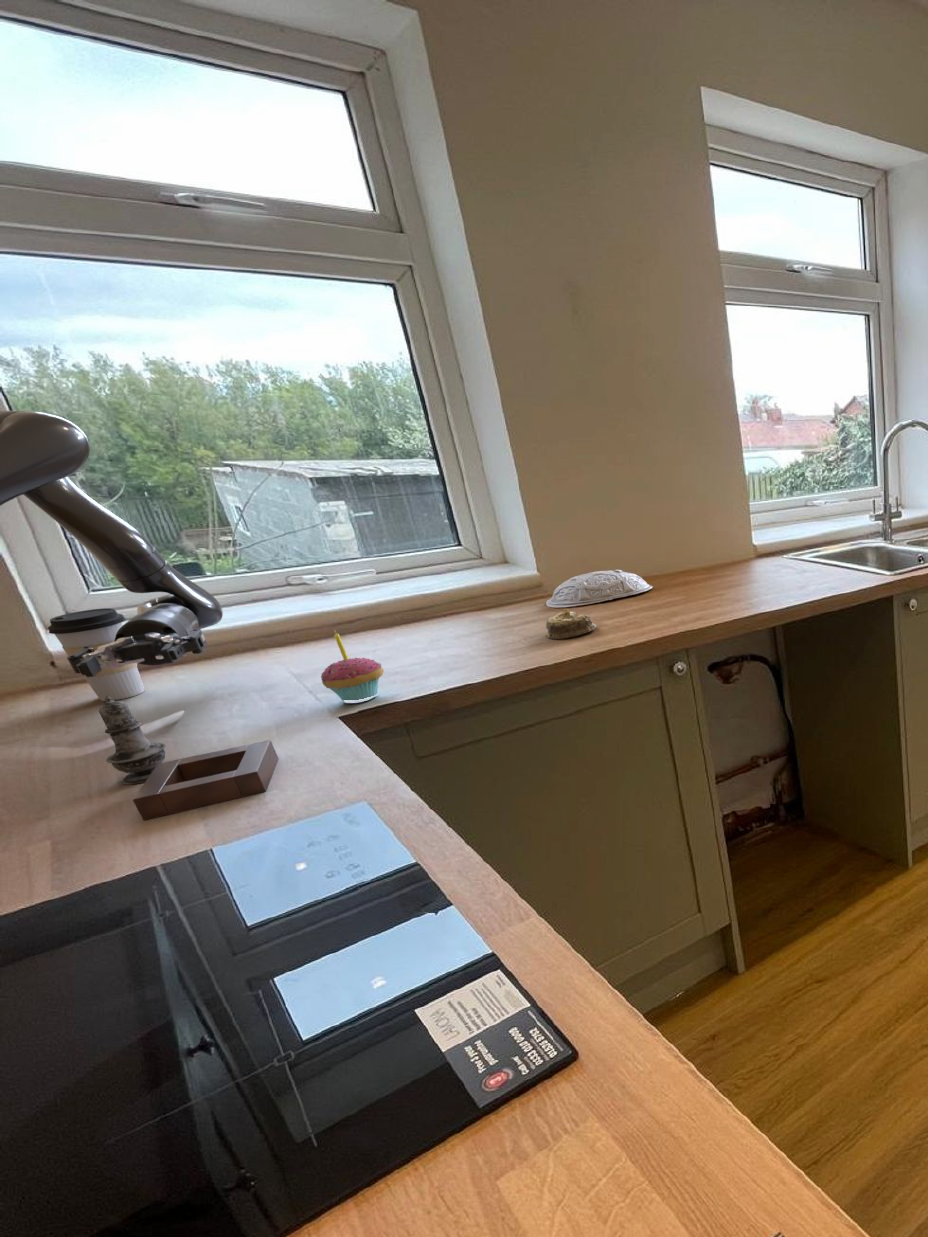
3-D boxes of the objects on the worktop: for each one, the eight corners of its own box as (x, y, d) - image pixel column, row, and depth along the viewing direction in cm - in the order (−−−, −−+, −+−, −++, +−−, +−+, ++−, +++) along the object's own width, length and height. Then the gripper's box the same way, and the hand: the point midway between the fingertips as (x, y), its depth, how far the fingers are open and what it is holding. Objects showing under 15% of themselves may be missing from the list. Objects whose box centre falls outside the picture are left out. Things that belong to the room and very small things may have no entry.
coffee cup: (71, 704, 134) (27, 622, 128) (131, 684, 143) (92, 606, 137) (114, 706, 133) (71, 622, 127) (173, 685, 141) (135, 606, 135)
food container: (540, 596, 189) (535, 569, 186) (644, 583, 203) (641, 559, 200) (552, 615, 178) (547, 588, 175) (661, 601, 191) (659, 575, 188)
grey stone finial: (175, 761, 110) (137, 684, 106) (177, 774, 107) (137, 694, 102) (118, 776, 107) (76, 697, 102) (118, 790, 103) (73, 708, 98)
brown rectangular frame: (143, 820, 95) (131, 799, 94) (167, 783, 104) (157, 763, 103) (266, 791, 101) (256, 771, 99) (278, 758, 110) (270, 739, 109)
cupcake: (326, 700, 131) (299, 633, 126) (384, 686, 136) (361, 621, 131) (337, 713, 125) (310, 643, 120) (397, 697, 131) (373, 629, 126)
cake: (565, 644, 156) (557, 619, 154) (537, 638, 161) (528, 614, 159) (607, 627, 163) (599, 603, 161) (578, 622, 168) (571, 599, 166)
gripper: (83, 622, 118) (44, 649, 105) (204, 604, 125) (180, 628, 112) (107, 667, 121) (72, 699, 108) (224, 648, 128) (203, 676, 115)
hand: (127, 663), depth 110 cm, fingers open, 8 cm apart
